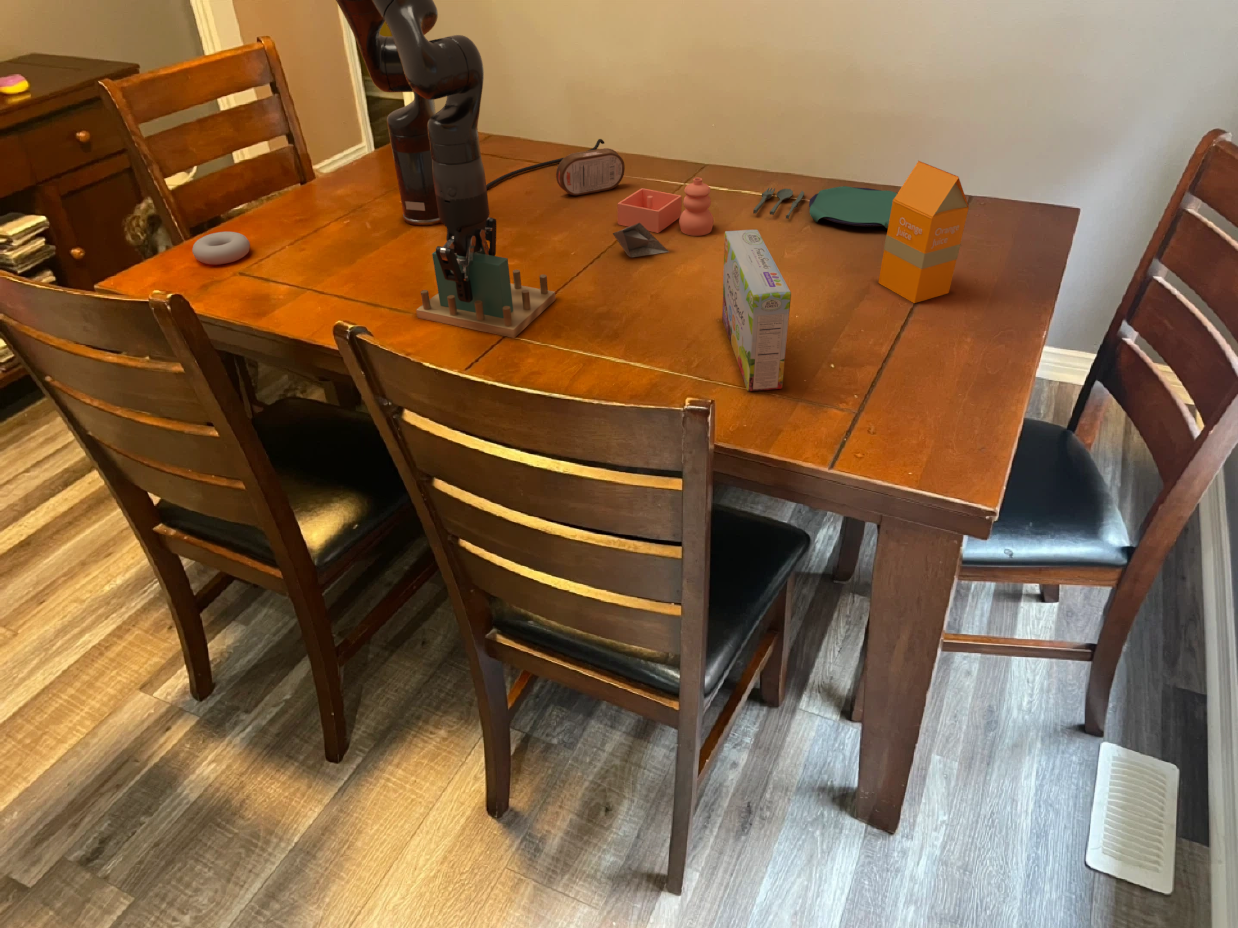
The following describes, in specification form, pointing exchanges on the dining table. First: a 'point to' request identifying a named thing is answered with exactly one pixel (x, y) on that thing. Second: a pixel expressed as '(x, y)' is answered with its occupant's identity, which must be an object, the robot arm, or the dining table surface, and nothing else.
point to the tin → (590, 171)
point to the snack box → (755, 309)
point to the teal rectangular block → (479, 284)
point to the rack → (524, 312)
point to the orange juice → (924, 234)
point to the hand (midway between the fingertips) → (474, 293)
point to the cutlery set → (842, 205)
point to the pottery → (669, 209)
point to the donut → (221, 248)
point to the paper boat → (638, 241)
